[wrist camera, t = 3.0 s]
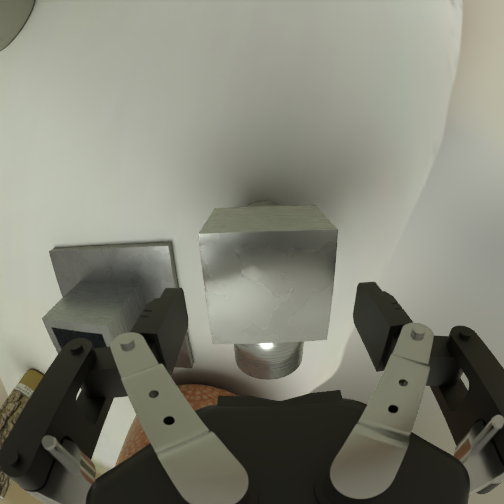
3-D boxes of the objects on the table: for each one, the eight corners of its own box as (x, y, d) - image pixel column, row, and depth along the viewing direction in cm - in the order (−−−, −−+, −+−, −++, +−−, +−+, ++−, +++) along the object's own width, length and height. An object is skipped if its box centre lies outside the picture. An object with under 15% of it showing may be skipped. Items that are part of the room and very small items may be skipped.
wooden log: (23, 363, 32) (-42, 461, 9) (48, 373, 32) (-17, 486, 9) (37, 389, 34) (-16, 484, 11) (63, 400, 34) (11, 505, 11)
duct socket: (54, 248, 24) (6, 280, 17) (171, 241, 24) (137, 284, 16) (90, 351, 29) (62, 395, 22) (193, 361, 29) (179, 418, 21)
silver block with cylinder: (225, 192, 22) (198, 233, 12) (299, 190, 22) (337, 229, 12) (232, 293, 25) (219, 383, 15) (297, 291, 25) (320, 379, 15)
